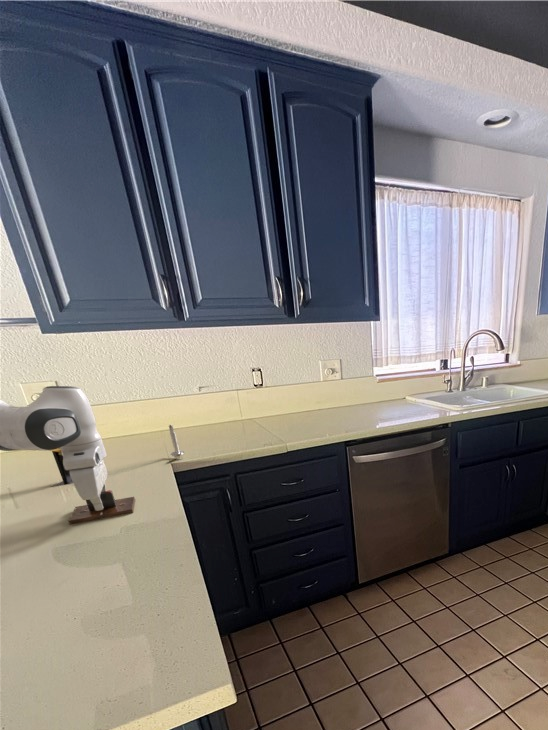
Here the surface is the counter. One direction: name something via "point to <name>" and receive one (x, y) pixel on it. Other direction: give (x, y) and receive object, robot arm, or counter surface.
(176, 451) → the screw
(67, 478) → the handle bracket
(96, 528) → the counter surface
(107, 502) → the lock knob
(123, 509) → the lock plate
